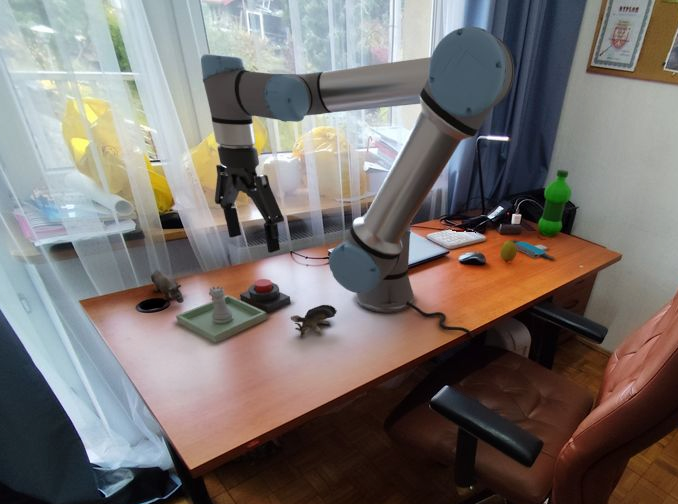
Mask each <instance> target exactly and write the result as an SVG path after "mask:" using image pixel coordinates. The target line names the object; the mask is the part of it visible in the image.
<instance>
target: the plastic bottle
mask: <svg viewBox="0 0 678 504" xmlns="http://www.w3.org/2000/svg"><path fill="white" fill-rule="evenodd" d="M555 176H556V179H555V180H554V181H552V182H550V183H549V184H548V185H546V187H545V188H544V194H543V196H544V199H545V202H544V207H543V212H542V215H541V217H540V218H539V220H538V224H537V225H538V229H539V231H540V232H541V234H542V235H544V236H546V237H553V236H555V235H556V234H558V233H560V231H561V230H562V229H563V222H562V218H563V214H564V211H565V207H566V203H568V202H569V201H570V199H571V197H572V190H571V188H570V186H569V184H568V183H567V182H566V179H567V178H568V176H569V171H568V170H564V169H557V171H556V175H555Z"/></svg>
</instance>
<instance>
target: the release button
mask: <svg viewBox="0 0 678 504" xmlns="http://www.w3.org/2000/svg"><path fill="white" fill-rule="evenodd" d="M272 283H273V282H272V281H271V279H266V278H259V279H256V280H255V281H254V282H253V284H254V286H255V291H256V292H262V293H263V292H269V291H271V290H272Z"/></svg>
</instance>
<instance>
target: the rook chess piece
mask: <svg viewBox="0 0 678 504" xmlns="http://www.w3.org/2000/svg"><path fill="white" fill-rule="evenodd" d="M225 293H226V291H225V290H224V289H223V287H222V286H219V285H218V286H216V287H215V286H212V287H210V288H209V292H208V295H209V296H210V297H211V302H212V301H213V304H214V310H213V313H212V317H213V318H212V320H213V321H214V322H215V323H218V324H225V323H229V322H230V321H232V319H233V315H232V311H231V310H229V308H228V307H227V305H226V303H225Z"/></svg>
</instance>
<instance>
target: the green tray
mask: <svg viewBox="0 0 678 504" xmlns="http://www.w3.org/2000/svg"><path fill="white" fill-rule="evenodd" d="M224 297H225V303H226V305H227V307H228V308H229V310H231V311H232V315H233V319H232V321H230V322H229V323H225V324H218V323H215V322H214V321H213V320H212V318H213V317H212V313H213V310H214V304H213V301H212V300H211V301H209V302H207V303H205V304H201V305H199V306H197V307H195V308H191V309H189V310H186V311H184V312H182V313H179V314H176V315H175V317H176V322H177V323H178V324H180V325H181V326H183V327H185V328H187V329H189V330H191V331H192V332H195V333H196V334H198V335H200V336H201V337H204V338H206V339H208V340H209V341H211V342H213V343H215V344H217V343H220V342H222V341H224V340H226V339H228V338H230V337H232V336H234V335H236V334H238V333H241V332H243V331H245V330H247V329H249V328H252V327H253V326H256V325H258V324H259V323H261V322H263V321H266V320H267V319H268V317H267V313H266V312H264V311H262V310H260V309H258V308H256V307H254V306H251V305H249V304H247V303H245V302H243V301H241V299H238V298H236V297H234V296H233V295H230V294H227V295H224Z"/></svg>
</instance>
